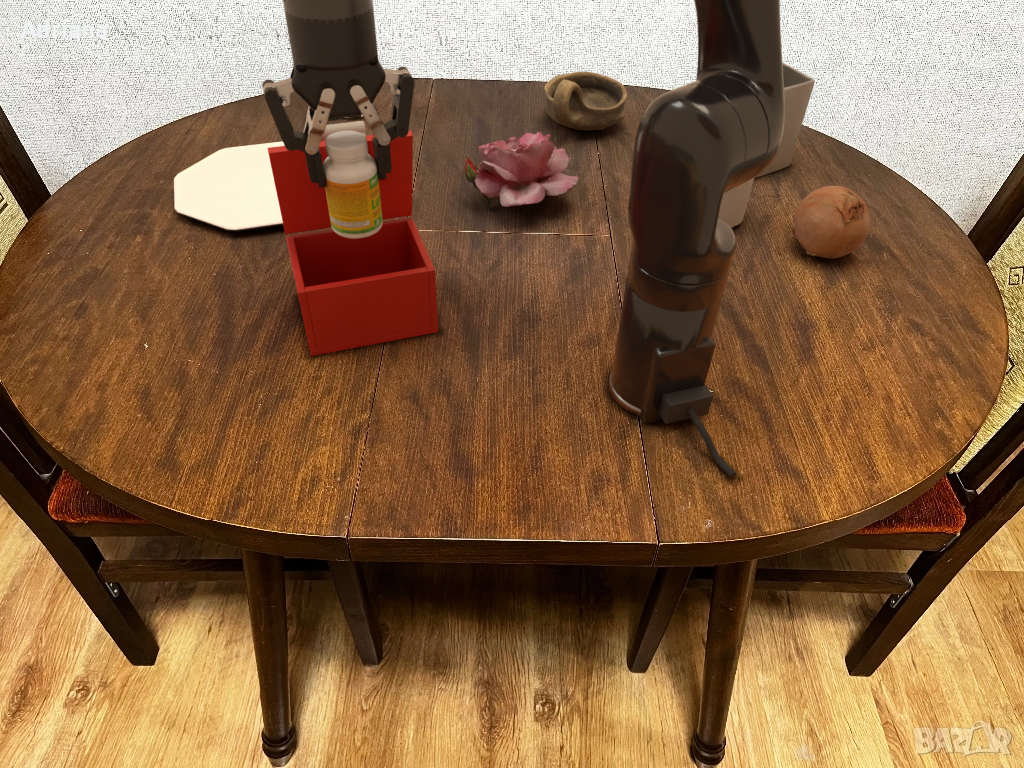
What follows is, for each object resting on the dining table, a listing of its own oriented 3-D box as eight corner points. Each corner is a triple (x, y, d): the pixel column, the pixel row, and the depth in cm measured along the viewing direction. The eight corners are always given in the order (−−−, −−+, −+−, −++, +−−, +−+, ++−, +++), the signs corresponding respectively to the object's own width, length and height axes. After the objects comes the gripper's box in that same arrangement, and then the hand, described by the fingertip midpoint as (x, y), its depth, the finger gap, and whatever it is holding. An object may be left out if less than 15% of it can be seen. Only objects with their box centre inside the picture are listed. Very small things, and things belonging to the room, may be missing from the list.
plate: (176, 162, 116) (173, 153, 115) (333, 144, 121) (331, 135, 120) (177, 247, 99) (174, 237, 98) (359, 221, 105) (357, 211, 104)
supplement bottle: (384, 238, 79) (375, 150, 72) (331, 241, 78) (317, 153, 72) (382, 211, 83) (373, 125, 76) (331, 214, 82) (318, 128, 75)
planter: (788, 190, 114) (829, 59, 101) (735, 182, 116) (768, 51, 102) (790, 142, 126) (826, 19, 113) (741, 135, 127) (771, 13, 114)
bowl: (637, 118, 131) (645, 59, 124) (592, 159, 120) (598, 97, 113) (566, 99, 136) (570, 41, 129) (516, 137, 125) (518, 76, 118)
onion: (837, 281, 103) (885, 243, 94) (774, 257, 102) (816, 215, 93) (844, 226, 107) (892, 183, 98) (783, 202, 106) (825, 157, 97)
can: (742, 236, 105) (764, 155, 97) (687, 229, 106) (705, 148, 98) (741, 208, 110) (762, 129, 102) (689, 202, 111) (706, 123, 103)
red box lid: (413, 135, 79) (402, 104, 81) (268, 153, 76) (261, 119, 78) (412, 215, 90) (403, 185, 92) (285, 234, 86) (278, 203, 88)
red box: (438, 332, 89) (435, 269, 82) (310, 356, 85) (297, 292, 79) (416, 277, 96) (411, 216, 90) (298, 297, 93) (285, 235, 86)
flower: (600, 189, 107) (586, 120, 102) (519, 235, 102) (500, 165, 96) (537, 175, 118) (521, 112, 113) (461, 216, 113) (440, 152, 107)
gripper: (244, 22, 61) (283, 209, 73) (420, 8, 64) (430, 188, 76) (238, -7, 66) (275, 171, 78) (401, -19, 69) (413, 154, 81)
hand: (351, 179), depth 77 cm, fingers closed on supplement bottle, 5 cm apart
